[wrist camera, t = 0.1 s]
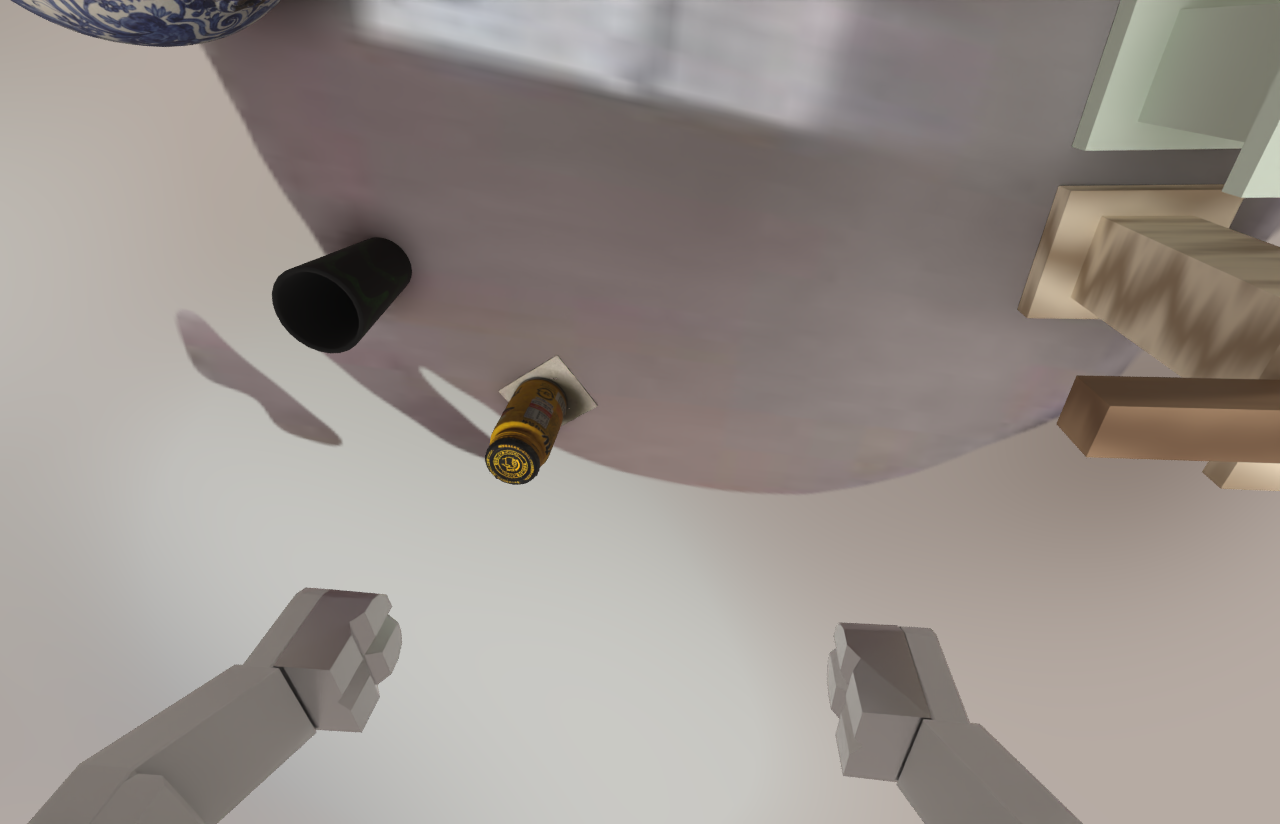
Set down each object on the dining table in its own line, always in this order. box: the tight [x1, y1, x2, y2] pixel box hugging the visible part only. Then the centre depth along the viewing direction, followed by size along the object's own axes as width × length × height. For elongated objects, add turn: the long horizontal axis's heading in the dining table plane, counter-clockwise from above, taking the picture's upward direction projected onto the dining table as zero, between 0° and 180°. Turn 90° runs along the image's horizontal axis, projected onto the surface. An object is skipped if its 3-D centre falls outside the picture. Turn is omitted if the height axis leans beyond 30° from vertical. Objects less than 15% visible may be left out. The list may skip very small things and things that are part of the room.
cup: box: [272, 238, 412, 353], centre depth 54 cm, size 8×8×12 cm
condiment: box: [485, 356, 597, 485], centre depth 60 cm, size 7×8×12 cm
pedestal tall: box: [1017, 184, 1280, 491], centre depth 40 cm, size 11×13×26 cm
